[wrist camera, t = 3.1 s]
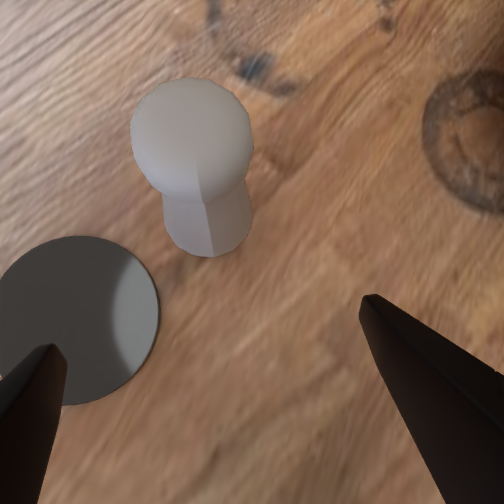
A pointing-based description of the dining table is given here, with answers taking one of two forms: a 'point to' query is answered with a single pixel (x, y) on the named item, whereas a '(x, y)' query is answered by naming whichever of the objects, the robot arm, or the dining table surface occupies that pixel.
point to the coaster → (80, 312)
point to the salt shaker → (197, 162)
